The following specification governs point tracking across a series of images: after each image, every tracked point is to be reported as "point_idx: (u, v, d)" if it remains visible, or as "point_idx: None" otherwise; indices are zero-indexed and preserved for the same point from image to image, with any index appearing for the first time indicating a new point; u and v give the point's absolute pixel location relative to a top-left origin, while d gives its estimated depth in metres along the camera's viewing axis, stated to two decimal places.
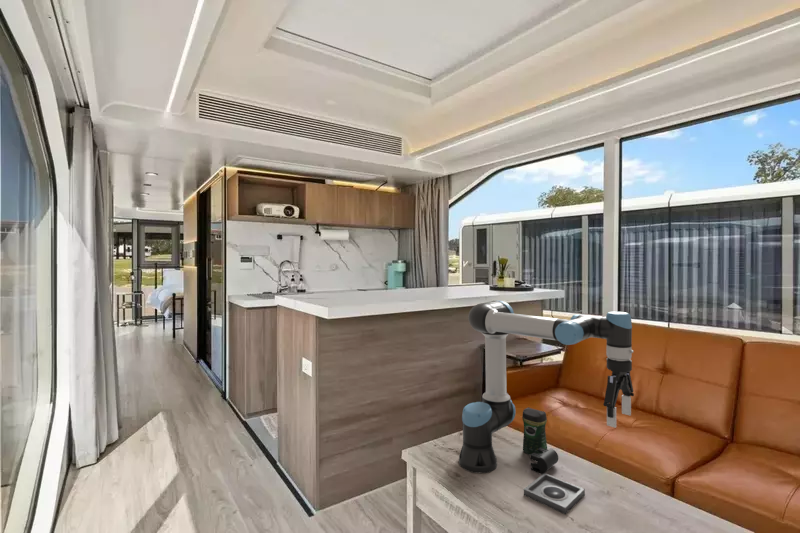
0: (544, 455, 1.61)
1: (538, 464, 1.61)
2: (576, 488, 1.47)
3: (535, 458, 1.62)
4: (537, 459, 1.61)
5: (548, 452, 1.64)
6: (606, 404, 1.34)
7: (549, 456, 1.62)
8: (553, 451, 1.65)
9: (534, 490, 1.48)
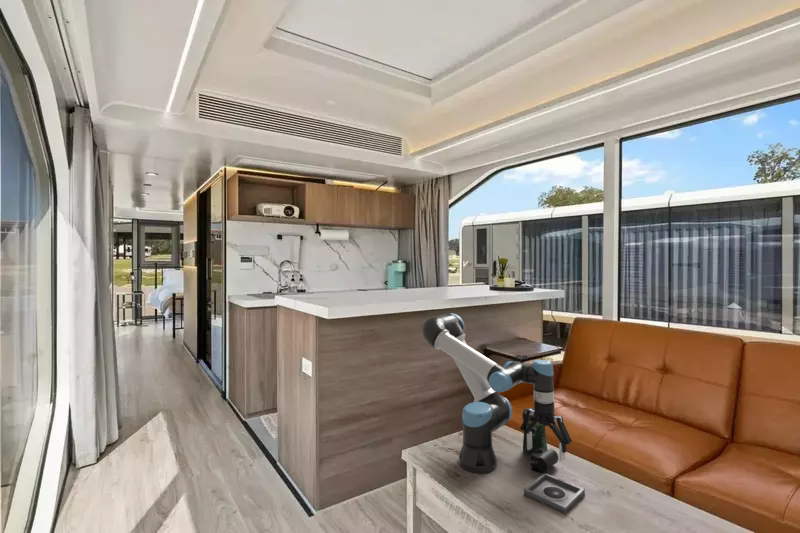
0: (544, 455, 1.61)
1: (538, 464, 1.61)
2: (576, 488, 1.47)
3: (535, 458, 1.62)
4: (537, 459, 1.61)
5: (548, 452, 1.64)
6: None
7: (549, 456, 1.62)
8: (553, 451, 1.65)
9: (534, 490, 1.48)
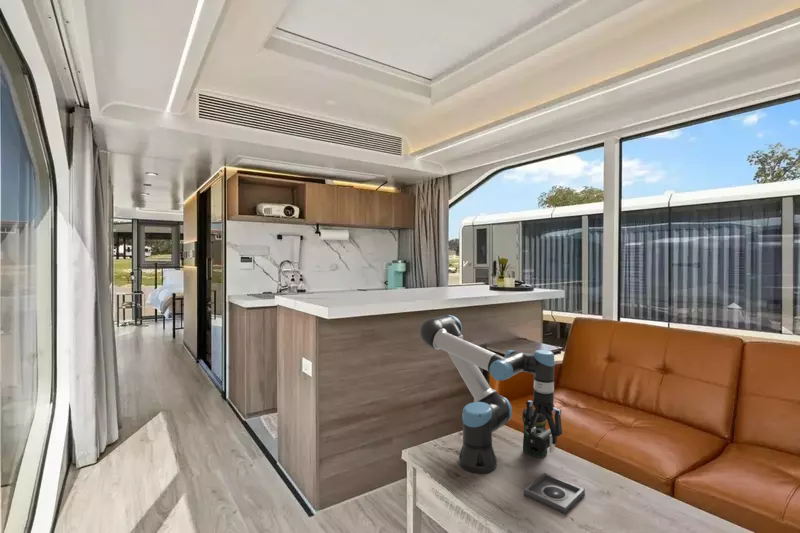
0: (542, 435, 1.61)
1: (536, 443, 1.61)
2: (576, 488, 1.47)
3: (533, 437, 1.62)
4: (535, 438, 1.61)
5: (547, 432, 1.64)
6: None
7: (547, 436, 1.62)
8: None
9: (534, 490, 1.48)
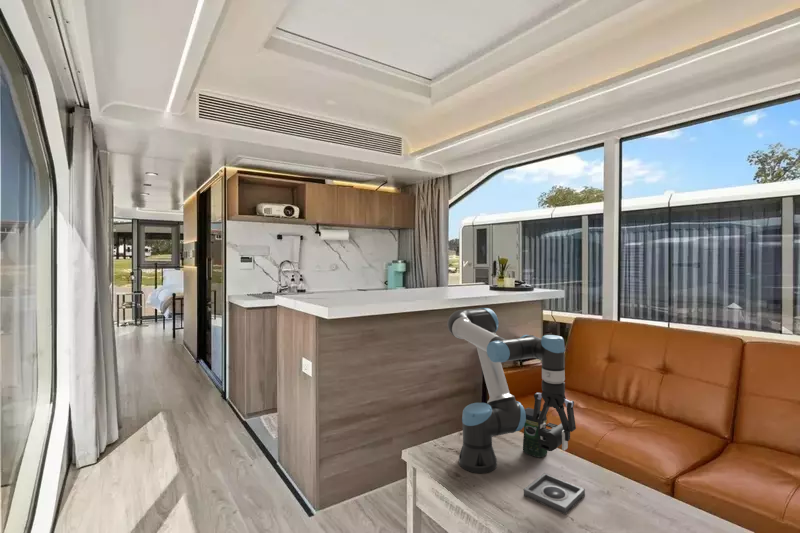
0: (554, 430, 1.43)
1: (547, 440, 1.43)
2: (576, 488, 1.47)
3: (543, 434, 1.43)
4: (546, 435, 1.43)
5: (558, 427, 1.45)
6: None
7: (559, 431, 1.43)
8: None
9: (534, 490, 1.48)
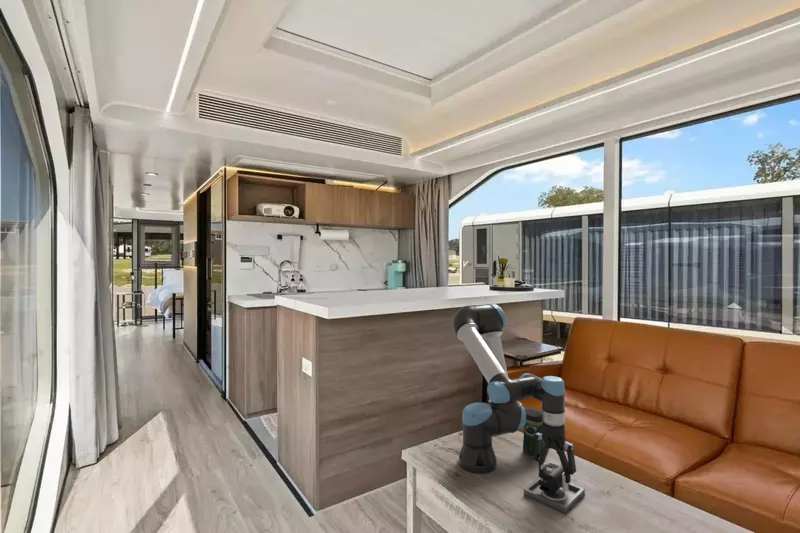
0: (554, 472, 1.44)
1: (547, 482, 1.43)
2: (576, 488, 1.47)
3: (544, 476, 1.44)
4: (546, 477, 1.43)
5: (559, 469, 1.46)
6: None
7: (560, 473, 1.44)
8: None
9: (534, 490, 1.48)
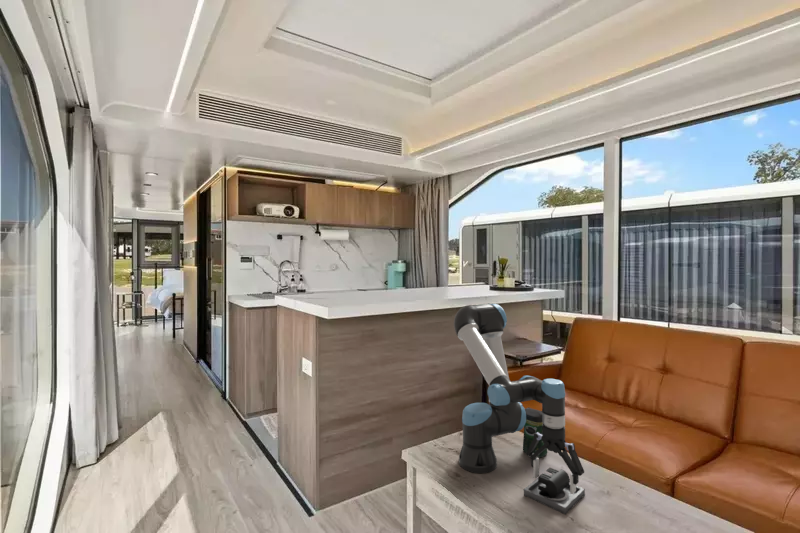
0: (554, 477, 1.44)
1: (547, 487, 1.43)
2: (576, 488, 1.47)
3: (543, 481, 1.44)
4: (546, 482, 1.44)
5: (558, 474, 1.46)
6: None
7: (559, 478, 1.44)
8: (564, 472, 1.47)
9: (534, 490, 1.48)
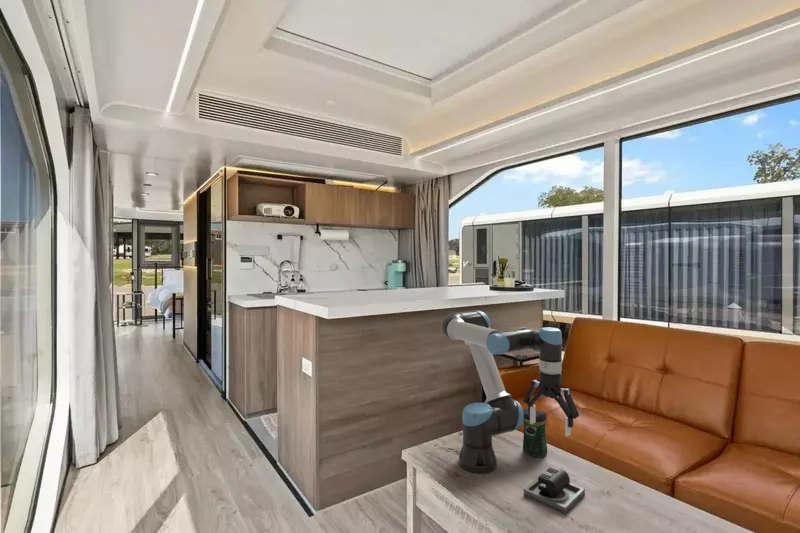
0: (554, 477, 1.44)
1: (547, 487, 1.43)
2: (576, 488, 1.47)
3: (543, 481, 1.44)
4: (546, 482, 1.44)
5: (558, 474, 1.46)
6: None
7: (559, 478, 1.44)
8: (564, 472, 1.47)
9: (534, 490, 1.48)
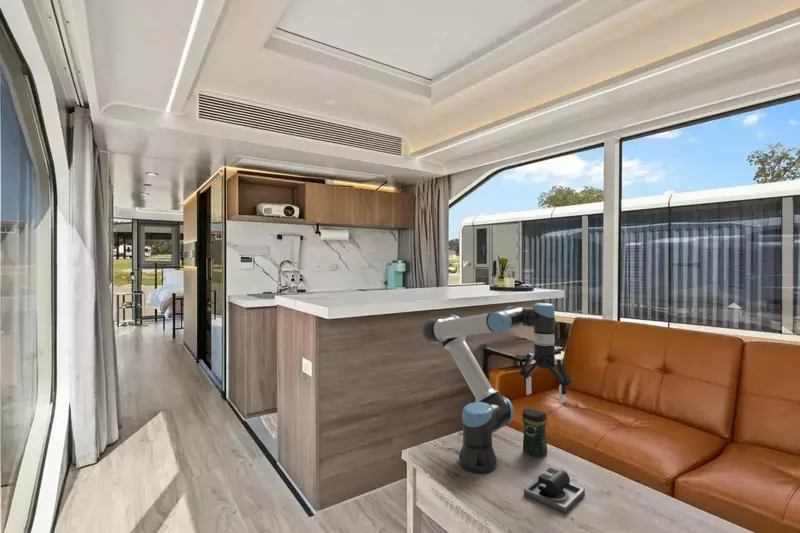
0: (554, 477, 1.44)
1: (547, 487, 1.43)
2: (576, 488, 1.47)
3: (543, 481, 1.44)
4: (546, 482, 1.44)
5: (558, 474, 1.46)
6: None
7: (559, 478, 1.44)
8: (564, 472, 1.47)
9: (534, 490, 1.48)
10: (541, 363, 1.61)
